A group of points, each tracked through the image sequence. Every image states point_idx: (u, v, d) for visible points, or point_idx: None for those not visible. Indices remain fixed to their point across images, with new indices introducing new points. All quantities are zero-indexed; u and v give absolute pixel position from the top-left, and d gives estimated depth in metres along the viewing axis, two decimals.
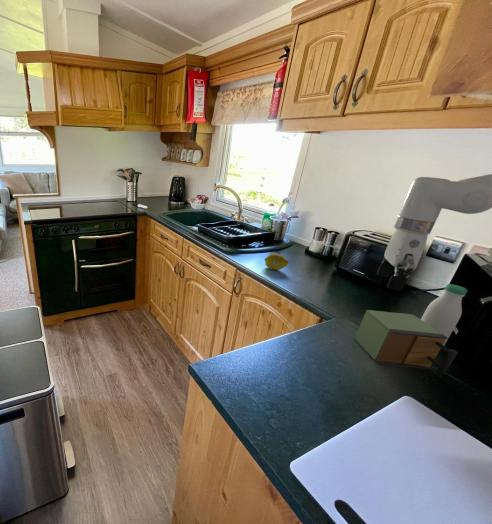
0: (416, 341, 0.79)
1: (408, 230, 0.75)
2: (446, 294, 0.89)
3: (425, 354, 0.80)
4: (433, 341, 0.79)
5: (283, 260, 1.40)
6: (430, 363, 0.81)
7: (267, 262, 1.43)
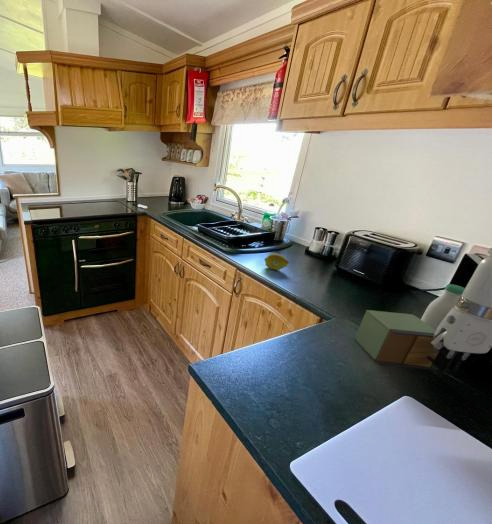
0: (416, 341, 0.79)
1: (456, 306, 0.72)
2: (446, 294, 0.89)
3: (425, 354, 0.80)
4: None
5: (283, 260, 1.40)
6: (430, 363, 0.81)
7: (267, 262, 1.43)
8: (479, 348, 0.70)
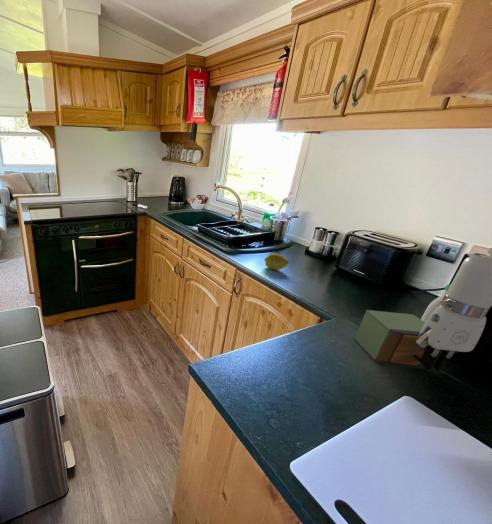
0: (402, 340, 0.79)
1: (441, 305, 0.72)
2: None
3: (411, 352, 0.81)
4: None
5: (283, 260, 1.40)
6: (416, 362, 0.82)
7: (267, 262, 1.43)
8: (463, 346, 0.71)
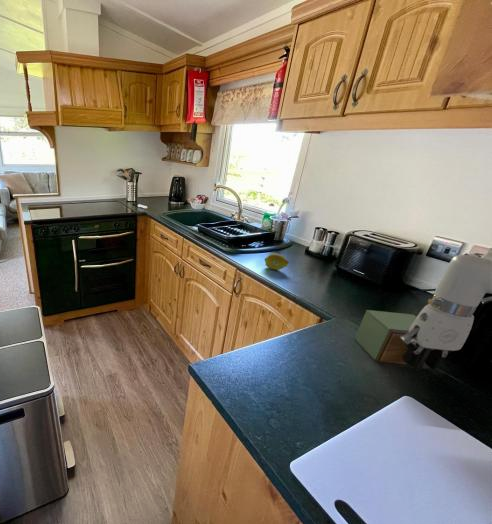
0: (392, 338, 0.80)
1: (429, 304, 0.72)
2: None
3: (401, 351, 0.81)
4: None
5: (283, 260, 1.40)
6: None
7: (267, 262, 1.43)
8: (451, 345, 0.71)
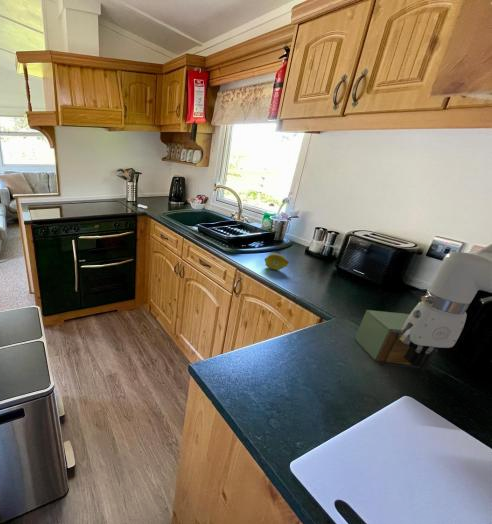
0: (398, 339, 0.79)
1: (422, 301, 0.72)
2: None
3: None
4: None
5: (283, 260, 1.40)
6: None
7: (267, 262, 1.43)
8: (444, 342, 0.71)
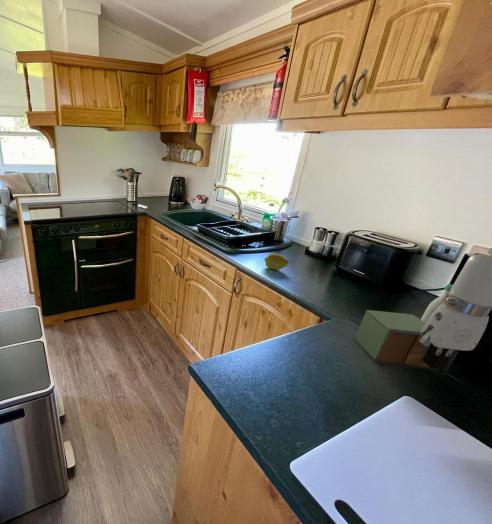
0: (417, 341, 0.79)
1: (443, 303, 0.72)
2: (446, 294, 0.89)
3: None
4: None
5: (283, 260, 1.40)
6: None
7: (267, 262, 1.43)
8: (465, 345, 0.70)
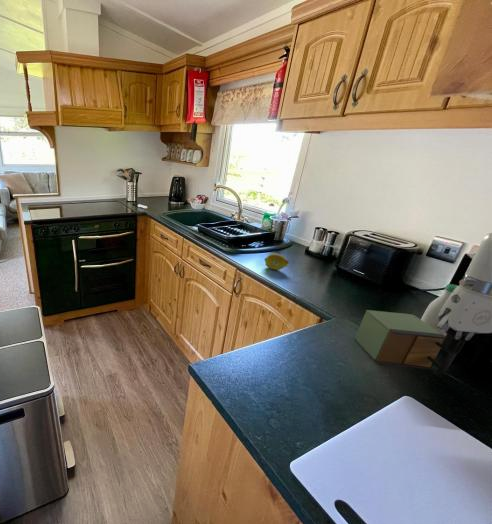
0: (416, 341, 0.79)
1: (460, 285, 0.69)
2: (446, 294, 0.89)
3: (425, 354, 0.80)
4: (433, 341, 0.79)
5: (283, 260, 1.40)
6: (430, 363, 0.81)
7: (267, 262, 1.43)
8: (485, 327, 0.68)
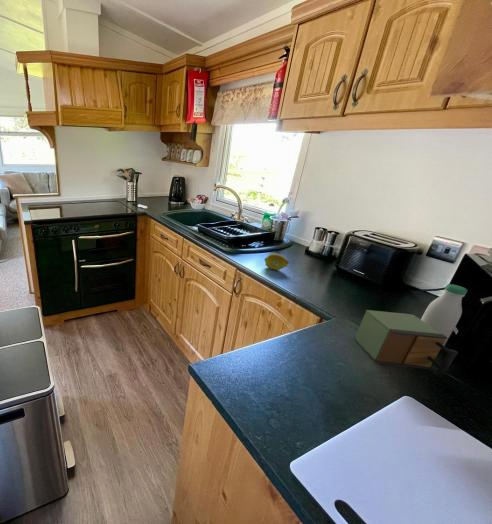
0: (416, 341, 0.79)
1: None
2: (446, 294, 0.89)
3: (425, 354, 0.80)
4: (433, 341, 0.79)
5: (283, 260, 1.40)
6: (430, 363, 0.81)
7: (267, 262, 1.43)
8: None
